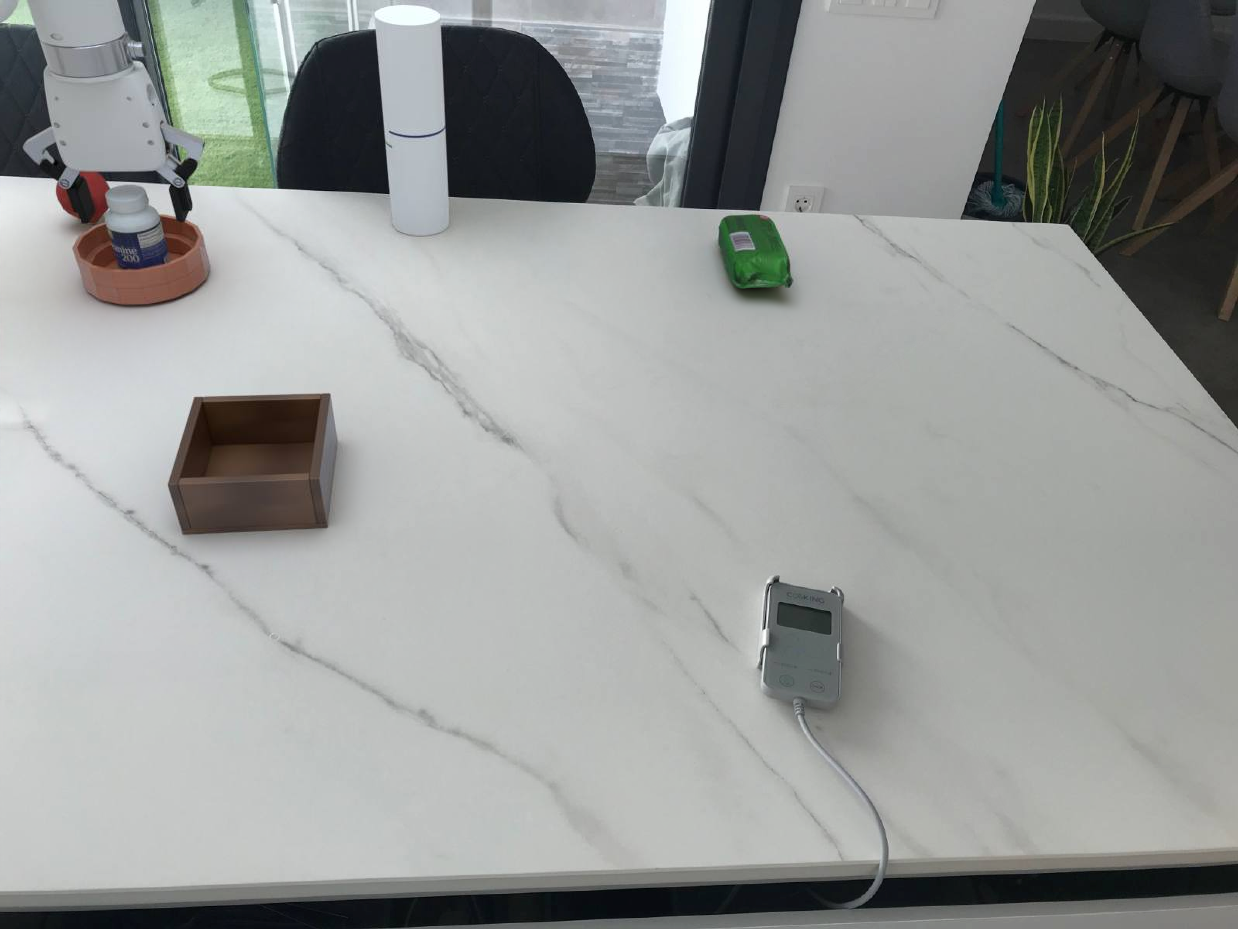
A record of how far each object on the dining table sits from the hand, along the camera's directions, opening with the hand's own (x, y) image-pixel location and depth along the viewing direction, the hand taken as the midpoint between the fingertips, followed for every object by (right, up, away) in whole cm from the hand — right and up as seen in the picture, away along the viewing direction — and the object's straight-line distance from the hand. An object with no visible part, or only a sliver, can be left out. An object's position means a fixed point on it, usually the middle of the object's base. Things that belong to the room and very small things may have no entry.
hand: (136, 217), depth 105 cm
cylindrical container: (+27, +4, +19) cm, 33 cm away
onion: (-12, +2, +13) cm, 18 cm away
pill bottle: (-1, -5, +4) cm, 7 cm away
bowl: (-1, -6, +4) cm, 7 cm away
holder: (+21, -28, -20) cm, 40 cm away
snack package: (+68, -3, +15) cm, 70 cm away
